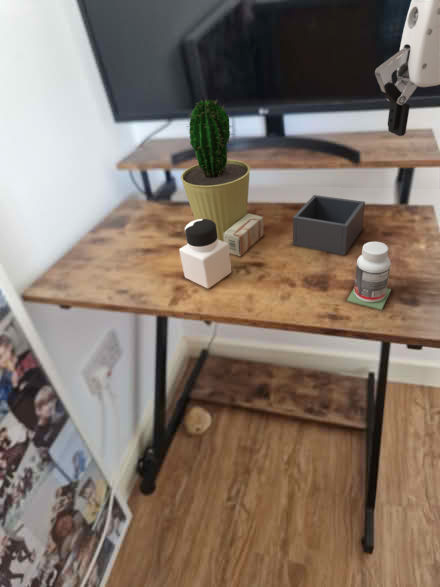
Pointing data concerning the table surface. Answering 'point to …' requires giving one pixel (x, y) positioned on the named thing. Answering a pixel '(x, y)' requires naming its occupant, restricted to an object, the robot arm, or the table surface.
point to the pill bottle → (372, 272)
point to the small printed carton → (244, 234)
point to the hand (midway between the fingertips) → (428, 126)
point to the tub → (328, 224)
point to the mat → (375, 305)
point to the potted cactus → (215, 170)
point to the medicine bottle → (204, 254)
